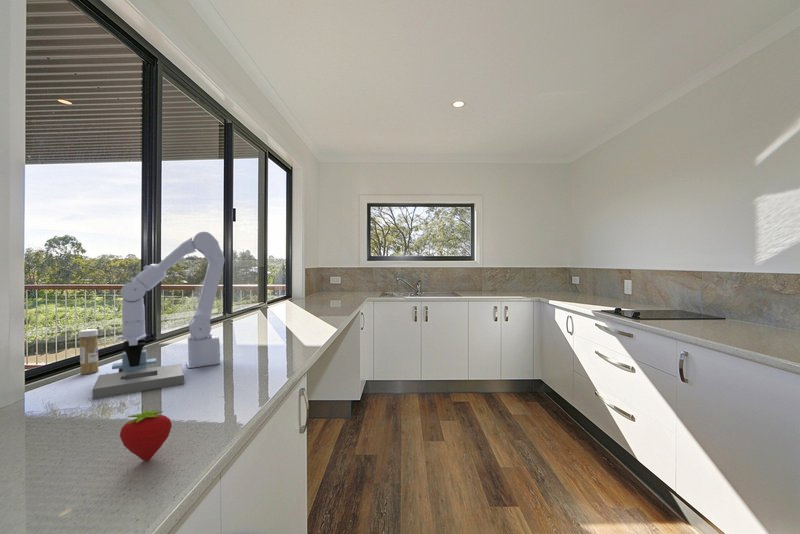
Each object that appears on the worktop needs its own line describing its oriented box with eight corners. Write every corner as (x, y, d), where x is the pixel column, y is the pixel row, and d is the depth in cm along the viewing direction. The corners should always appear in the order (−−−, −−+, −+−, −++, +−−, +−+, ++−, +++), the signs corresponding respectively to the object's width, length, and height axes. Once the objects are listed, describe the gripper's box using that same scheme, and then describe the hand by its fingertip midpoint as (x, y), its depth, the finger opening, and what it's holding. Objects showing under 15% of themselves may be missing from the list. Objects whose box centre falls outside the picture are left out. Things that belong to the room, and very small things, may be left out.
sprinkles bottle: (97, 372, 116) (96, 330, 116) (78, 375, 114) (77, 331, 113) (99, 369, 120) (98, 327, 120) (81, 371, 118) (80, 329, 117)
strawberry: (169, 464, 63) (167, 405, 63) (115, 474, 61) (113, 413, 60) (175, 448, 69) (174, 394, 69) (126, 456, 66) (124, 400, 66)
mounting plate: (181, 371, 117) (180, 363, 117) (184, 383, 105) (183, 374, 105) (99, 383, 106) (99, 375, 106) (92, 399, 94) (92, 389, 94)
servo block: (156, 368, 121) (155, 345, 121) (156, 371, 117) (155, 348, 117) (113, 374, 115) (112, 350, 115) (112, 377, 111) (111, 353, 111)
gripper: (119, 319, 120) (120, 361, 120) (115, 325, 107) (116, 372, 108) (146, 317, 123) (147, 357, 124) (145, 323, 111) (146, 368, 112)
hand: (134, 364), depth 116 cm, fingers closed on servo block, 4 cm apart
